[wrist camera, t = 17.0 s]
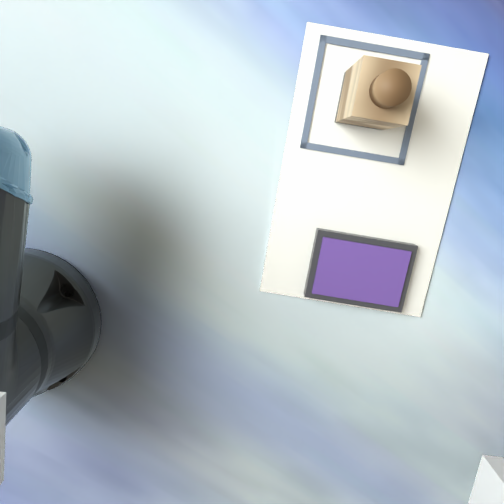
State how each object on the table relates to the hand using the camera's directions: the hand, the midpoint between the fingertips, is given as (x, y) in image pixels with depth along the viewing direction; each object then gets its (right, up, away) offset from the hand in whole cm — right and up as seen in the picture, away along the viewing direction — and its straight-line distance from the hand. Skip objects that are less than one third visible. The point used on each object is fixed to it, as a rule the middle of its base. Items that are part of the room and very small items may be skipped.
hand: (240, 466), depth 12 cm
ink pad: (+11, +4, +34) cm, 36 cm away
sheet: (+12, +13, +32) cm, 37 cm away
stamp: (+11, +20, +30) cm, 38 cm away
